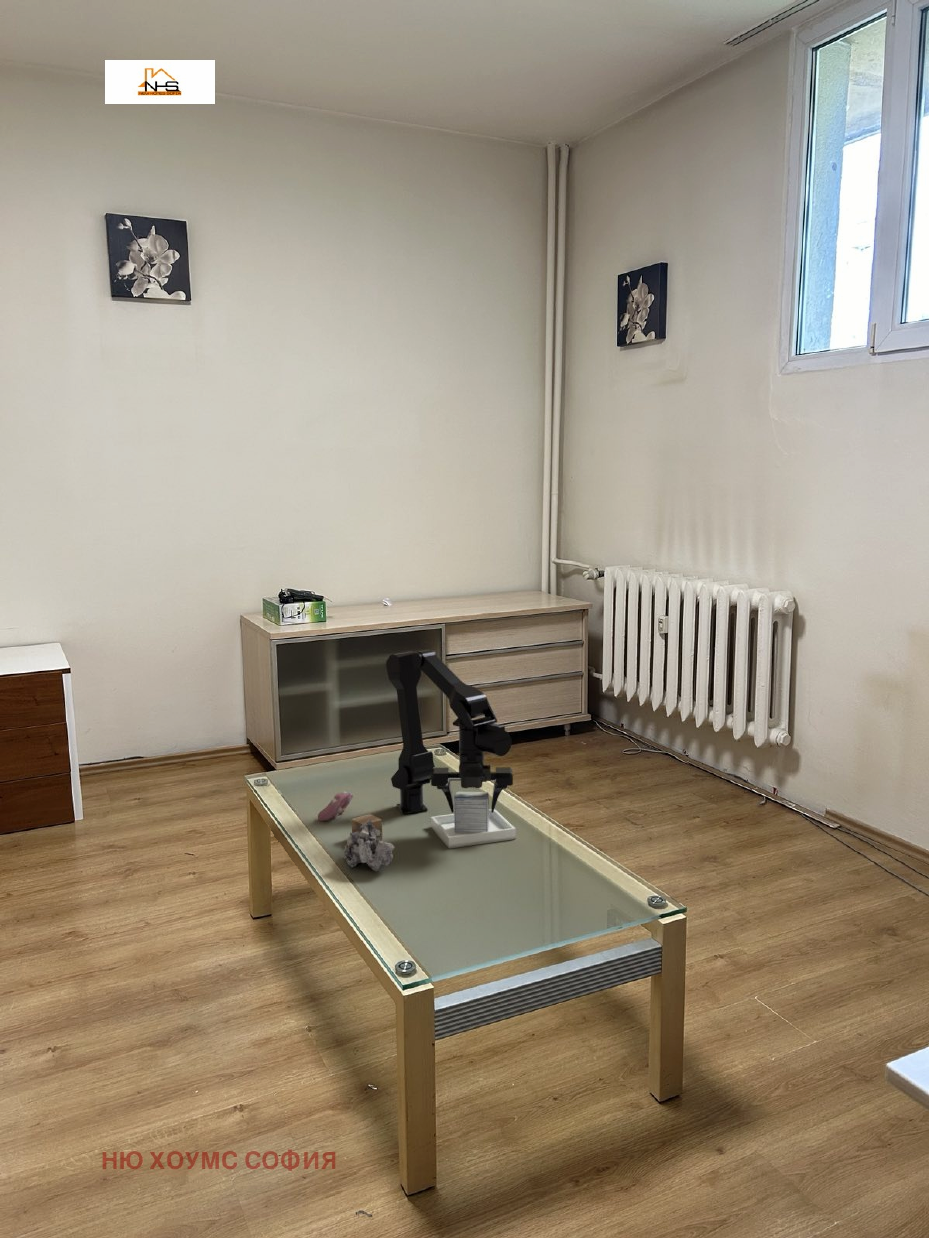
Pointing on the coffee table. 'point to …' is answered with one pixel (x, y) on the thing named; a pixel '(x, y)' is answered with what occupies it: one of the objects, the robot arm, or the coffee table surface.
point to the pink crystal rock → (335, 806)
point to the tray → (497, 832)
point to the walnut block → (363, 820)
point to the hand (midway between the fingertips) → (472, 812)
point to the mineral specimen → (368, 848)
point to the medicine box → (471, 812)
